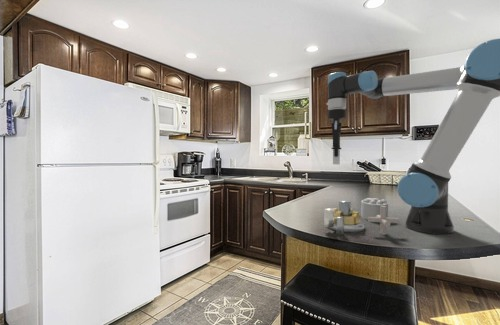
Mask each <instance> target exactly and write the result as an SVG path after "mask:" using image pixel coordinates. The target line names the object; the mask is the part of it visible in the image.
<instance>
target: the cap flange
mask: <svg viewBox="0 0 500 325" xmlns="http://www.w3.org/2000/svg"><path fill="white" fill-rule="evenodd" d="M351 209H352V201H351V200H338V211H340V212H342V216H351ZM327 228H328V229H330V230H334V231H336V224H335V226H334V227H327ZM364 229H365V222H363V221H361V220H360V223H359V224H354V225H345V224H344V232H346V233H347V232H348V233H358V232H362V231H364Z"/></svg>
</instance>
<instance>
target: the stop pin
mask: <svg viewBox="0 0 500 325" xmlns="http://www.w3.org/2000/svg"><path fill="white" fill-rule="evenodd" d="M335 231H336V233H335V235H337V236H344V217H337V219H336V230H335Z"/></svg>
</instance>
